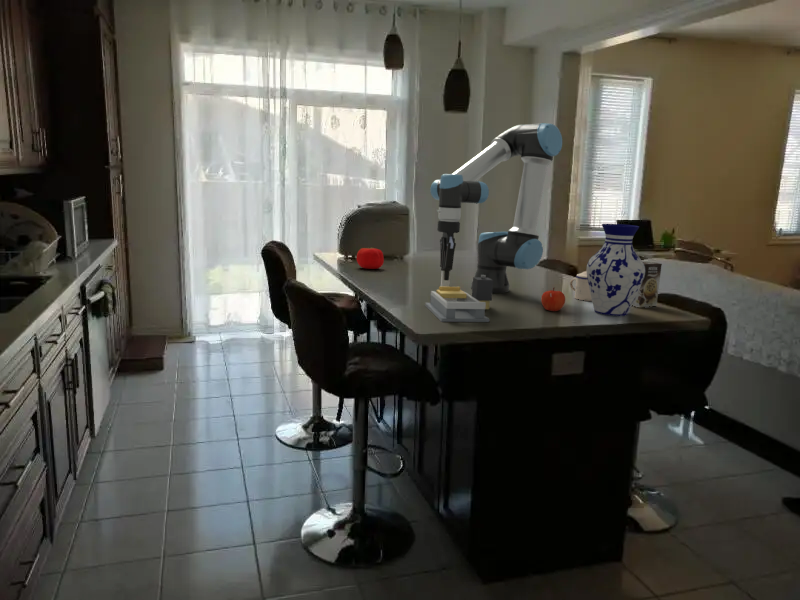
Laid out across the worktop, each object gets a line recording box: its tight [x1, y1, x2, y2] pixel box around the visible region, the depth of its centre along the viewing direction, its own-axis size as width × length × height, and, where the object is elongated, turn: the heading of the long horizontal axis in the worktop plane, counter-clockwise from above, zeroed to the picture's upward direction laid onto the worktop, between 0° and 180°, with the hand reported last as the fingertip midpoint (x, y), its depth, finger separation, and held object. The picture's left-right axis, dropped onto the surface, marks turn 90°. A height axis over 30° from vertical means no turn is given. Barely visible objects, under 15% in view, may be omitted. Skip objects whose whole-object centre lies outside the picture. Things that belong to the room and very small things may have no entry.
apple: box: [540, 287, 566, 312], centre depth 219 cm, size 8×8×8 cm
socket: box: [424, 290, 490, 323], centre depth 206 cm, size 15×24×6 cm, turn 10°
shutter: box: [435, 285, 467, 299], centre depth 212 cm, size 9×7×3 cm
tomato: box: [356, 246, 385, 270], centre depth 298 cm, size 11×13×10 cm
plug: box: [471, 275, 493, 310], centre depth 217 cm, size 5×5×11 cm
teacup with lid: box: [569, 269, 592, 302], centre depth 244 cm, size 12×9×12 cm
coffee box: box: [632, 261, 663, 308], centre depth 234 cm, size 9×6×16 cm
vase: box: [586, 223, 645, 317], centre depth 217 cm, size 19×19×30 cm
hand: (444, 289), depth 221 cm, fingers closed
